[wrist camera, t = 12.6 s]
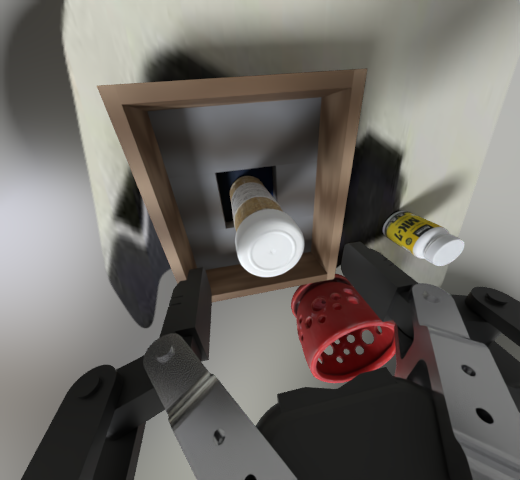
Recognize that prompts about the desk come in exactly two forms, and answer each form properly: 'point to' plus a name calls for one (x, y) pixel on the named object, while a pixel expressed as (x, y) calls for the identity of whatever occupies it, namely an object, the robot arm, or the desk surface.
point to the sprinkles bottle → (263, 230)
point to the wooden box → (241, 164)
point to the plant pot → (339, 330)
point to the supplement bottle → (423, 238)
